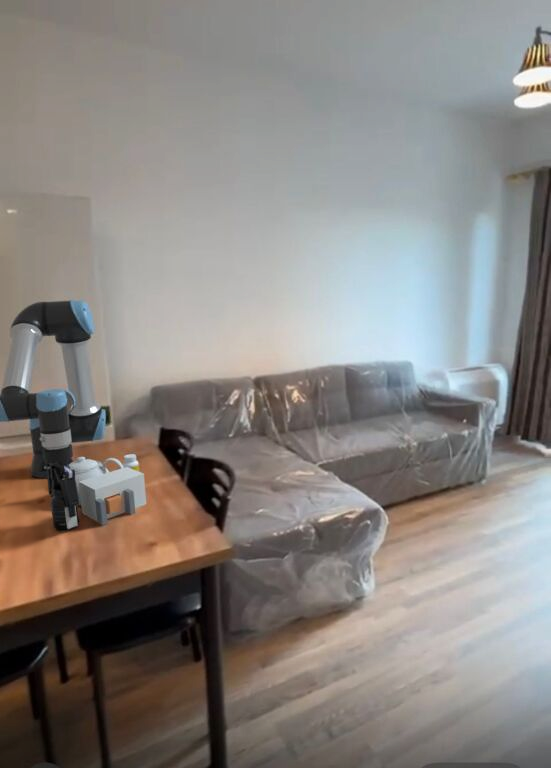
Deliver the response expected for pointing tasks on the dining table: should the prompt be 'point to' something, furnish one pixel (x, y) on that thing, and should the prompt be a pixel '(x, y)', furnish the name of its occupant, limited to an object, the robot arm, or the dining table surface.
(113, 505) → the block
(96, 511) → the box
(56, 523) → the supplement bottle
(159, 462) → the dining table surface
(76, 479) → the teapot
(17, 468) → the dining table surface
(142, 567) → the dining table surface
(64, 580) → the dining table surface
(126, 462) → the supplement bottle
